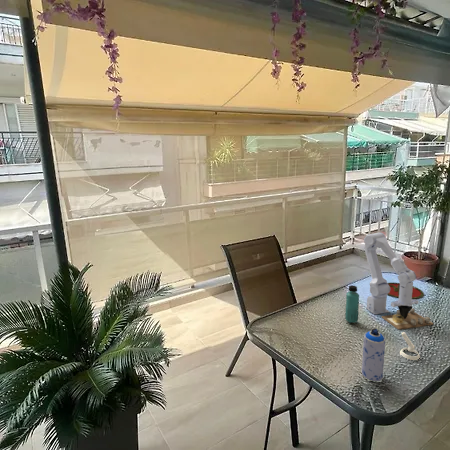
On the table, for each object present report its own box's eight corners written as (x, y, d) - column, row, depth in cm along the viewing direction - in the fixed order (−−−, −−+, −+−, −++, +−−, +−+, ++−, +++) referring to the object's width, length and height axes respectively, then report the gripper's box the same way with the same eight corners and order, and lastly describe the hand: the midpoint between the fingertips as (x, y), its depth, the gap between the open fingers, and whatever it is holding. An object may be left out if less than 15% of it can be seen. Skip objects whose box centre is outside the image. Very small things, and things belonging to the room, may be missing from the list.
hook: (388, 335, 139) (403, 328, 137) (404, 359, 136) (419, 353, 134) (390, 340, 132) (405, 333, 130) (407, 366, 129) (423, 360, 127)
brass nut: (405, 322, 157) (405, 318, 156) (397, 323, 156) (398, 319, 155) (398, 317, 162) (398, 313, 161) (390, 319, 161) (391, 314, 160)
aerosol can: (369, 367, 126) (372, 322, 122) (387, 378, 119) (391, 331, 115) (356, 373, 122) (359, 328, 118) (374, 385, 115) (377, 337, 111)
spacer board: (398, 329, 152) (399, 323, 151) (381, 317, 164) (381, 311, 164) (433, 324, 156) (433, 318, 155) (413, 313, 168) (414, 307, 167)
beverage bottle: (350, 326, 157) (351, 289, 153) (342, 320, 163) (343, 285, 159) (360, 324, 159) (363, 288, 155) (352, 318, 165) (354, 283, 161)
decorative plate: (409, 282, 207) (432, 298, 183) (409, 283, 208) (432, 299, 183) (372, 282, 209) (390, 298, 184) (372, 284, 209) (390, 300, 184)
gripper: (398, 298, 151) (396, 323, 154) (424, 295, 154) (421, 319, 157) (388, 292, 158) (387, 316, 161) (413, 289, 161) (411, 313, 163)
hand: (403, 317), depth 159 cm, fingers closed
